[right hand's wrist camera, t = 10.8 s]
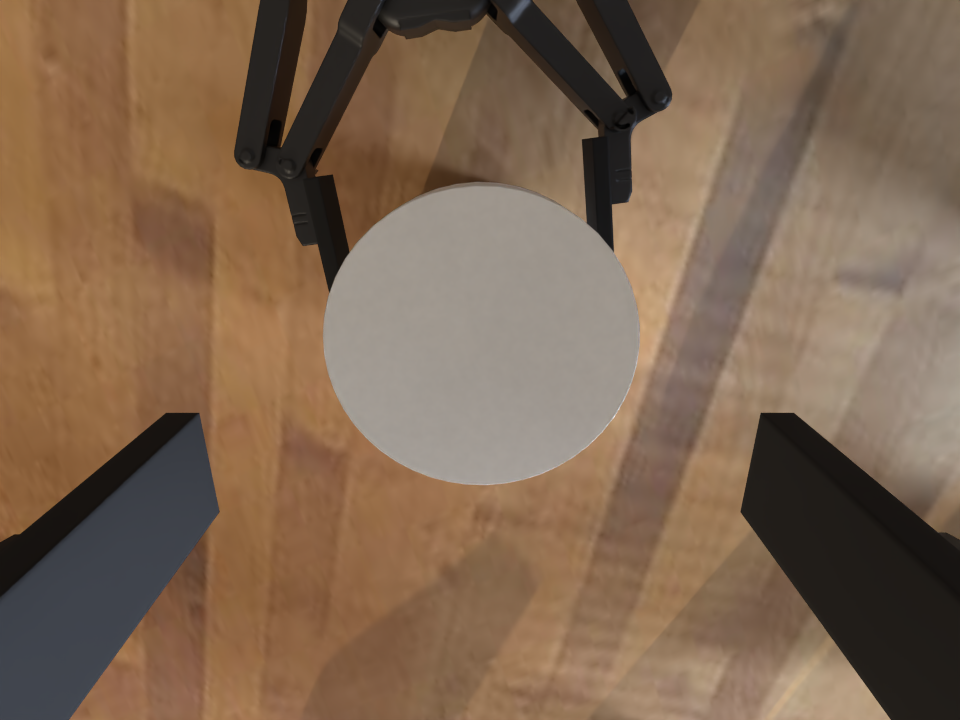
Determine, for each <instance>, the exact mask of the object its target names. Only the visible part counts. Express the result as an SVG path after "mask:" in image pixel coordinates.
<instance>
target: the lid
mask: <svg viewBox="0 0 960 720" xmlns="http://www.w3.org/2000/svg"><path fill="white" fill-rule="evenodd" d="M639 342H640V325H639V318H638V310H637V305H636V301H635V297H634V294H633V290H632V287H631V284H630V282H629V280H628V278H627V275H626V273H625V271H624V269H623V267H622V265H621V264H620V262H619V260H618V259H617V257H616V256H615V254H614V252H613V251H612V249H611V248H610V247H609V246H608V245H607V243H606V242H605V241H604V240H603V239H602V238H601V236H600V235H599V234H598V233H597V232H596V231H595V230H594V229H593V228H591V227H590V226H589V225H588V224H587V223H586V222H585V221H584V220H582V219H581V218H580V217H578V216H577V215H575V214H574V213H572V212H571V211H569V210H568V209H566V208H565V207H563V206H562V205H560V204H558V203H557V202H555V201H554V200H551V199H549V198H547V197H545V196H543V195H541V194H539V193H537V192H534V191H531V190H528V189H525V188H522V187H518V186H514V185H508V184H502V183H495V182H470V183H460V184H454V185H450V186H445V187H441V188H437V189H434V190H432V191H429V192H427V193H424V194H422V195H419V196H417V197H415V198H413V199H411V200H410V201H408V202H406V203H404V204H403V205H401V206H399V207H398V208H396V209H395V210H393V211H392V212H390V213H389V214H388V215H386V216H385V217H384V218H382V219H381V220H380V221H379V222H377V223H376V224H375V225H373V226H372V227H371V228H370V229H369V230H368V231H367V232H366V233H365V234H364V236H363V237H362V238H361V239H360V240H359V241H358V242H357V243H356V244H355V246H354V247H353V249H352V250H351V251H350V253H349V254H348V255H347V257H346V258H345V260H344V262H343V264H342V265H341V267H340V269H339V271H338V273H337V275H336V277H335V279H334V282H333V285H332V288H331V290H330V293H329V296H328V300H327V305H326V310H325V315H324V327H323V343H324V356H325V360H326V365H327V370H328V374H329V377H330V380H331V383H332V386H333V388H334V391H335V393H336V395H337V397H338V399H339V401H340V403H341V405H342V407H343V409H344V410H345V412H346V413H347V415H348V416H349V418H350V419H351V421H352V422H353V423H354V425H355V426H356V427H357V428H358V429H359V430H360V432H361V433H362V434H363V435H364V436H365V437H366V438H367V439H368V440H369V441H370V442H371V443H372V444H373V445H375V446H376V447H377V448H378V449H379V450H380V451H382V452H383V453H384V454H386V455H387V456H389V457H390V458H392V459H393V460H395V461H396V462H398V463H400V464H402V465H404V466H406V467H408V468H409V469H411V470H413V471H416V472H419V473H421V474H424V475H426V476H429V477H432V478H436V479H440V480H444V481H448V482H454V483H461V484H471V485H491V484H503V483H509V482H514V481H519V480H524V479H527V478H530V477H533V476H536V475H539V474H542V473H544V472H546V471H549V470H551V469H553V468H555V467H558V466H559V465H561V464H563V463H564V462H566V461H568V460H569V459H571V458H573V457H574V456H575V455H577V454H578V453H579V452H581V451H582V450H583V449H585V448H586V447H587V446H588V445H590V444H591V443H592V442H593V441H594V440H595V439H596V438H597V437H598V436H599V435H600V434H601V433H602V432H603V430H604V429H605V428H606V427H607V425H608V424H609V423H610V421H611V420H612V419H613V418H614V416H615V414H616V413H617V411H618V410H619V408H620V406H621V405H622V403H623V401H624V399H625V397H626V394H627V392H628V390H629V388H630V385H631V383H632V379H633V376H634V372H635V369H636V365H637V359H638V352H639Z"/></svg>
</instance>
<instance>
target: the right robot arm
mask: <svg viewBox="0 0 960 720" xmlns="http://www.w3.org/2000/svg"><path fill="white" fill-rule="evenodd" d="M218 513H219V507H218V502H217V497H216V493H215V488H214V483H213V478H212V473H211V468H210V463H209V458H208V454H207V449H206V444H205V439H204V434H203V429H202V424H201V419H200V415H199V413H166V414H164V415H163V416H162V417H161V418H159V419H158V420H157V421H156V422H155V423H153V424H152V425H151V426H150V427H149V428H147V429H146V430H145V431H144V432H143V433H141V434H140V435H139V436H138V437H137V438H135V439H134V440H133V441H132V442H131V443H129V444H128V445H127V446H126V447H125V448H123V449H122V450H121V451H120V452H119V453H117V454H116V455H115V456H114V457H113V458H111V459H110V460H109V461H108V462H107V463H105V464H104V465H103V466H102V467H101V468H99V469H98V470H97V471H96V472H94V473H93V474H92V475H91V476H90V477H88V478H87V479H86V480H85V481H84V482H82V483H81V484H80V485H79V486H78V487H76V488H75V489H74V490H73V491H72V492H70V493H69V494H68V495H67V496H66V497H64V498H63V499H62V500H61V501H60V502H58V503H57V504H56V505H55V506H54V507H52V508H51V509H50V510H49V511H48V512H46V513H45V514H44V515H43V516H42V517H40V518H39V519H38V520H37V521H36V522H34V523H33V524H32V525H31V526H29V527H28V528H27V529H26V530H25V531H23V532H22V533H21V534H14V535H13V536H11V537H9V538H7V539H5V540H4V541H2V542H0V720H69V719H70V718H71V716H72V715H73V713H74V712H75V711H76V709H77V708H78V707H79V705H80V704H81V702H82V701H83V700H84V698H85V697H86V696H87V694H88V693H89V691H90V690H91V689H92V687H93V686H94V684H95V683H96V682H97V680H98V679H99V678H100V676H101V675H102V673H103V672H104V671H105V669H106V668H107V667H108V665H109V664H110V662H111V661H112V660H113V658H114V657H115V655H116V654H117V653H118V651H119V650H120V649H121V647H122V646H123V644H124V643H125V642H126V640H127V639H128V638H129V636H130V635H131V633H132V632H133V631H134V629H135V628H136V626H137V625H138V624H139V622H140V621H141V620H142V618H143V617H144V615H145V614H146V613H147V611H148V610H149V609H150V607H151V606H152V604H153V603H154V602H155V600H156V599H157V598H158V596H159V595H160V593H161V592H162V591H163V589H164V588H165V586H166V585H167V584H168V582H169V581H170V580H171V578H172V577H173V575H174V574H175V573H176V571H177V570H178V569H179V567H180V566H181V564H182V563H183V562H184V560H185V559H186V557H187V556H188V555H189V553H190V552H191V551H192V549H193V548H194V546H195V545H196V544H197V542H198V541H199V540H200V538H201V537H202V535H203V534H204V533H205V531H206V530H207V528H208V527H209V526H210V524H211V523H212V522H213V520H214V519H215V517H216V516H217V515H218ZM741 513H742V515H743V516H744V517H745V519H746V520H747V522H748V523H749V524H750V526H751V527H752V528H753V530H754V531H755V533H756V534H757V535H758V537H759V538H760V540H761V541H762V542H763V544H764V545H765V546H766V548H767V549H768V551H769V552H770V553H771V555H772V556H773V557H774V559H775V560H776V562H777V563H778V564H779V566H780V567H781V569H782V570H783V571H784V573H785V574H786V575H787V577H788V578H789V580H790V581H791V582H792V584H793V585H794V586H795V588H796V589H797V591H798V592H799V593H800V595H801V596H802V598H803V599H804V600H805V602H806V603H807V604H808V606H809V607H810V609H811V610H812V611H813V613H814V614H815V615H816V617H817V618H818V620H819V621H820V622H821V624H822V625H823V626H824V628H825V629H826V631H827V632H828V633H829V635H830V636H831V638H832V639H833V640H834V642H835V643H836V644H837V646H838V647H839V649H840V650H841V651H842V653H843V654H844V655H845V657H846V658H847V660H848V661H849V662H850V664H851V665H852V667H853V668H854V669H855V671H856V672H857V673H858V675H859V676H860V678H861V679H862V680H863V682H864V683H865V684H866V686H867V687H868V689H869V690H870V691H871V693H872V694H873V696H874V697H875V698H876V700H877V701H878V702H879V704H880V705H881V707H882V708H883V709H884V711H885V712H886V713H887V715H888V716H889V718H890V719H891V720H960V540H959V539H957V538H955V537H953V536H952V535H950V534H948V533H938V532H937V531H935V530H934V529H933V528H932V527H931V526H929V525H928V524H927V523H926V522H924V521H923V520H922V519H921V518H920V517H918V516H917V515H916V514H915V513H914V512H912V511H911V510H910V509H909V508H908V507H906V506H905V505H904V504H903V503H902V502H900V501H899V500H898V499H897V498H896V497H894V496H893V495H892V494H891V493H890V492H888V491H887V490H886V489H885V488H884V487H882V486H881V485H880V484H879V483H878V482H876V481H875V480H874V479H873V478H872V477H870V476H869V475H868V474H867V473H866V472H864V471H863V470H862V469H861V468H859V467H858V466H857V465H856V464H855V463H853V462H852V461H851V460H850V459H849V458H847V457H846V456H845V455H844V454H843V453H841V452H840V451H839V450H838V449H837V448H835V447H834V446H833V445H832V444H831V443H829V442H828V441H827V440H826V439H825V438H823V437H822V436H821V435H820V434H819V433H817V432H816V431H815V430H814V429H813V428H811V427H810V426H809V425H808V424H807V423H805V422H804V421H803V420H802V419H801V418H799V417H798V416H797V415H796V414H794V413H761V415H760V419H759V424H758V429H757V434H756V439H755V444H754V449H753V454H752V458H751V463H750V468H749V473H748V478H747V483H746V488H745V493H744V497H743V502H742V507H741Z"/></svg>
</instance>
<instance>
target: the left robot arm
mask: <svg viewBox="0 0 960 720" xmlns="http://www.w3.org/2000/svg"><path fill="white" fill-rule="evenodd" d="M576 1H577V3H578V5H579V7H580V9H581V11H582V13H583V15H584V16H585V18H586V20H587V22H588V24H589V26H590V28H591V30H592V32H593V34H594V36H595V37H596V39H597V41H598V43H599V45H600V47H601V49H602V51H603V53H604V55H605V57H606V59H607V60H608V62H609V64H610V66H611V68H612V70H613V72H614V74H615V76H616V78H617V80H618V81H619V83H620V85H621V87H622V89H623V91H624V93H625V95H626V98H624V99H621V98H620V97H619V96H618V95H617V94H616V92H615V91H614V90H613V89H612V88H611V87H610V86H609V85H608V84H607V83H606V81H605V80H604V79H603V78H602V77H601V76H600V75H599V74H598V73H597V72H596V71H595V69H594V68H593V67H592V66H591V65H590V64H589V63H588V62H587V61H586V60H585V58H584V57H583V56H582V55H581V54H580V53H579V52H578V51H577V50H576V49H575V47H574V46H573V45H572V44H571V43H570V42H569V41H568V40H567V39H566V38H565V37H564V35H563V34H562V33H561V32H560V31H559V30H558V29H557V28H556V27H555V26H554V24H553V23H552V22H551V21H550V20H549V19H548V18H547V17H546V16H545V15H544V14H543V12H542V11H541V10H540V9H539V8H538V7H537V6H536V5H535V4H534V2H533V1H532V0H348V1H347V3H346V5H345V7H344V10H343V12H342V14H341V16H340V19H339V22H338V30H337V33H336V35H335V37H334V39H333V41H332V43H331V45H330V47H329V50H328V52H327V54H326V56H325V58H324V60H323V62H322V64H321V66H320V68H319V70H318V73H317V75H316V77H315V79H314V81H313V83H312V85H311V87H310V89H309V91H308V93H307V96H306V98H305V100H304V102H303V104H302V106H301V108H300V110H299V112H298V114H297V116H296V119H295V121H294V123H293V125H292V127H291V129H290V131H289V133H288V135H287V137H286V139H285V141H284V144H283V146H282V147H281V141H282V136H283V131H284V126H285V121H286V116H287V111H288V106H289V101H290V96H291V91H292V86H293V81H294V76H295V71H296V66H297V61H298V56H299V51H300V46H301V41H302V36H303V31H304V26H305V20H306V13H307V0H260V5H259V10H258V16H257V22H256V28H255V34H254V40H253V45H252V51H251V57H250V63H249V69H248V75H247V80H246V86H245V92H244V98H243V104H242V110H241V115H240V121H239V127H238V133H237V139H236V144H235V150H234V157H235V159H236V162H237V163H238V164H239V165H240V166H241V167H242V168H244V169H249V170H251V169H253V170H257V171H262V172H266V173H270V174H273V175H275V176H277V177H278V178H279V179H280V180H281V181H282V183H283V185H284V188H285V191H286V195H287V200H288V204H289V208H290V212H291V215H292V220H293V224H294V228H295V232H296V236H297V238H298V239H299V241H300V242H301V244H302V245H303V246H307V245H314V244H318V247H319V251H320V255H321V260H322V264H323V268H324V272H325V277H326V281H327V285H328V289H329V293H330V290H331V288H332V285H333V282H334V279H335V277H336V275H337V273H338V271H339V269H340V267H341V265H342V264H343V262H344V260H345V258H346V257H347V255H348V254H349V253H350V252H349V248H348V243H347V238H346V234H345V229H344V225H343V220H342V215H341V211H340V206H339V201H338V197H337V192H336V187H335V183H334V178H333V175H326V176H319V177H316V176H315V174H316V173H317V172H318V170H317V169H316V167H317V165H318V163H319V161H320V159H321V157H322V155H323V153H324V151H325V149H326V147H327V145H328V143H329V141H330V139H331V137H332V135H333V133H334V131H335V129H336V127H337V126H338V124H339V122H340V120H341V118H342V116H343V114H344V112H345V110H346V108H347V106H348V104H349V102H350V100H351V98H352V96H353V94H354V92H355V90H356V88H357V86H358V84H359V82H360V80H361V78H362V76H363V74H364V72H365V70H366V68H367V66H368V64H369V62H370V60H371V58H372V57H373V56H374V55H375V54H376V53H377V51H378V50H379V48H380V46H381V44H382V42H383V40H384V38H385V36H386V34H387V32H388V30H390V31H391V32H393V33H395V34H397V35H400V36H404V37H405V38H406V39H411V38H418V37H423V36H425V35H427V34H429V33H431V32H433V31H435V30H438V29H440V30H447V31H453V32H457V31H464V30H471V26H473V25H475V24H476V23H478V22H479V21H480V20H481V19H482V18H483V17H484V16H485V15H486V14H487V15H488V16H489V17H490V18H491V19H492V21H493V22H494V23H495V24H496V25H497V26H498V27H499V28H500V29H501V30H502V31H503V32H504V33H505V34H507V35H509V36H510V37H511V38H512V39H513V40H514V41H515V42H516V43H517V44H518V45H519V46H520V48H521V49H522V50H523V51H524V52H525V53H526V54H527V55H528V56H529V57H530V58H531V59H532V60H533V61H534V62H535V63H536V65H537V66H538V67H539V68H540V69H541V70H542V71H543V72H544V73H545V74H546V75H547V76H548V77H549V78H550V79H551V80H552V81H553V83H554V84H555V85H556V86H557V87H558V88H559V89H560V90H561V91H562V92H563V93H564V94H565V95H566V96H567V97H568V98H569V99H570V101H571V102H572V103H573V104H574V105H575V106H576V107H577V108H578V109H579V110H580V111H581V112H582V113H583V114H584V115H585V116H586V118H587V119H588V120H589V121H590V122H591V123H592V124H593V125H594V126H595V127H596V128H597V129H598V136H599V137H596V138H589V139H582V148H583V164H584V181H585V198H586V215H587V224H588V225H589V226H590V227H591V228H593V229H594V230H595V231H596V232H597V233H598V234H599V235H600V236H601V238H602V239H603V240H604V241H605V242H606V243H607V245H608V246H609V247H610V248H611V249H612V251H613V252H614V245H613V223H612V204H618V203H625V202H629V199H630V196H631V193H632V179H631V178H632V171H631V133H632V131H633V129H634V127H635V126H636V125H637V124H638V123H639V122H640V121H642V120H644V119H646V118H648V117H650V116H651V115H653V114H655V113H657V112H659V111H662V110H664V109H666V108H667V107H668V106H669V104H670V102H671V100H672V91H671V88H670V86H669V84H668V82H667V80H666V78H665V76H664V74H663V72H662V70H661V68H660V66H659V64H658V62H657V60H656V58H655V56H654V54H653V52H652V50H651V48H650V46H649V44H648V42H647V40H646V38H645V35H644V33H643V31H642V29H641V27H640V25H639V23H638V21H637V19H636V17H635V15H634V13H633V11H632V9H631V7H630V5H629V3H628V1H627V0H576ZM315 169H316V170H315Z"/></svg>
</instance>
